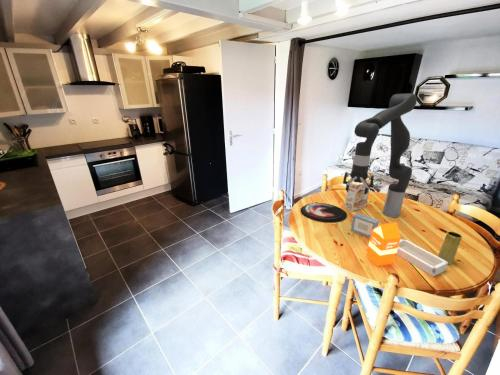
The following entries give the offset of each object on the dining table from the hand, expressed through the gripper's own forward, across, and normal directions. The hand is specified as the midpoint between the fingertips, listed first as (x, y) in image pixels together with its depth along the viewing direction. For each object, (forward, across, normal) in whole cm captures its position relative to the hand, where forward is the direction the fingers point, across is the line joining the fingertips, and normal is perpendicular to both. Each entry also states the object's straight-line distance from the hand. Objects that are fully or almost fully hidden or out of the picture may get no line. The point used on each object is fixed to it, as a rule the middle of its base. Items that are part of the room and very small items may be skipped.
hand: (356, 192), depth 123 cm
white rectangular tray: (+25, -31, +12) cm, 41 cm away
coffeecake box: (+25, -1, -34) cm, 43 cm away
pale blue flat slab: (+25, -7, -2) cm, 26 cm away
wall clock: (+25, +18, -17) cm, 35 cm away
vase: (+25, -43, +6) cm, 50 cm away
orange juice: (+25, -15, +19) cm, 35 cm away
